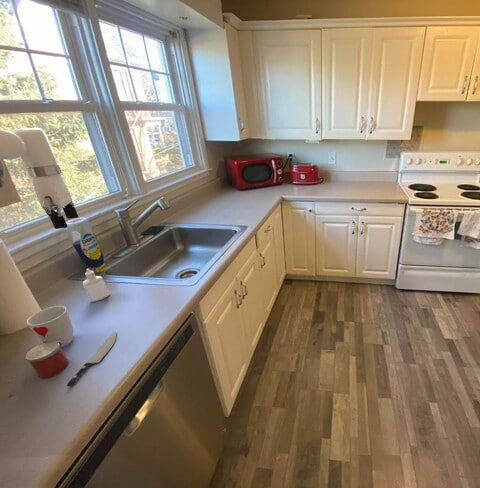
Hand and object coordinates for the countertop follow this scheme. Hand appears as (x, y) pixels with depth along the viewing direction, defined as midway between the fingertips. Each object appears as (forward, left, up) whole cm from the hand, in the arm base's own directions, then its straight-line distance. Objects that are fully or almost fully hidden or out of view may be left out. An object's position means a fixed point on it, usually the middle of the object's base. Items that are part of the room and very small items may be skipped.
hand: (67, 222), depth 94 cm
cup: (-1, -29, -27) cm, 39 cm away
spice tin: (+1, -39, -27) cm, 48 cm away
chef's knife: (+11, -39, -27) cm, 49 cm away
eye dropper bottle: (+3, -7, -27) cm, 28 cm away
